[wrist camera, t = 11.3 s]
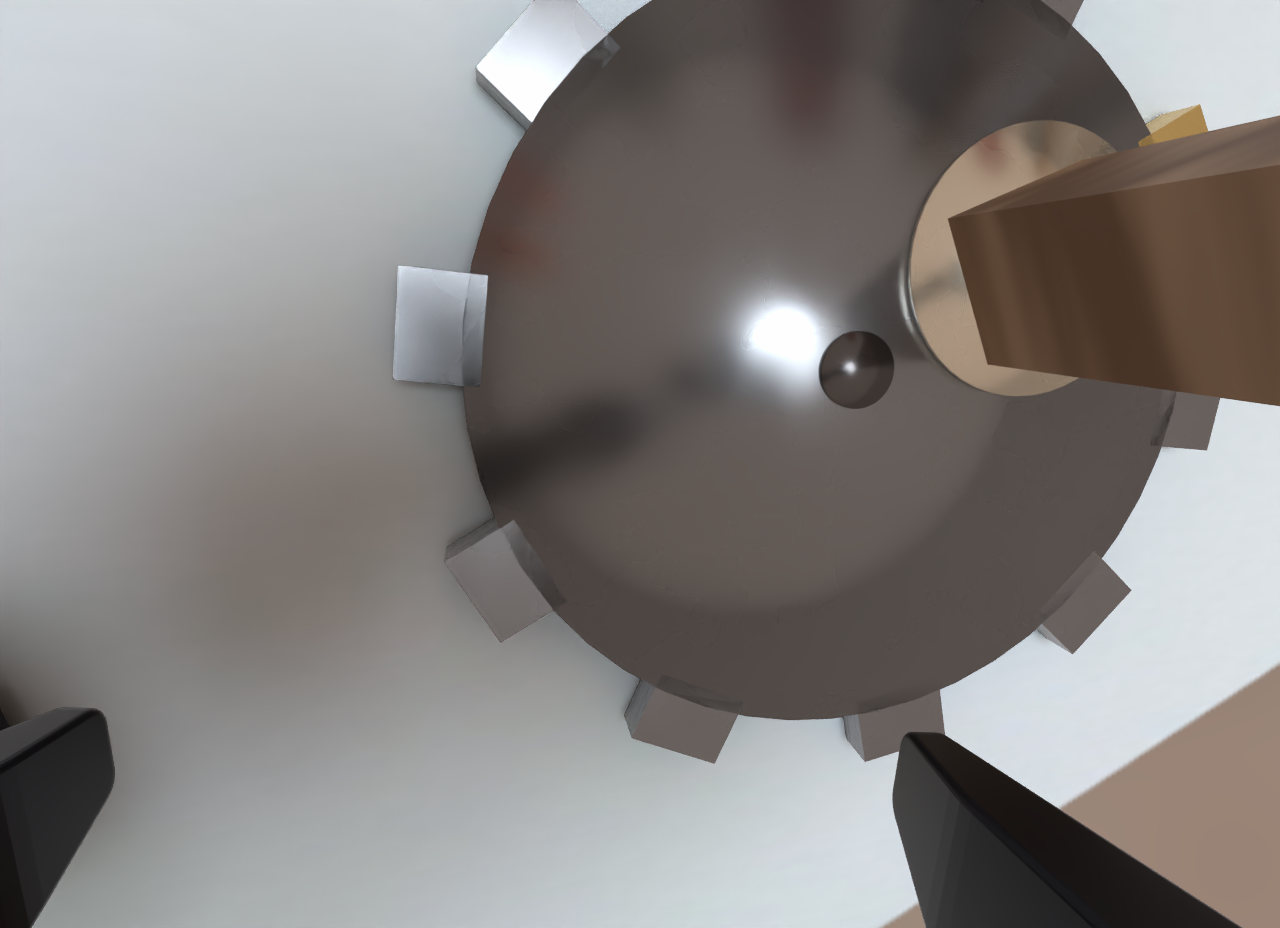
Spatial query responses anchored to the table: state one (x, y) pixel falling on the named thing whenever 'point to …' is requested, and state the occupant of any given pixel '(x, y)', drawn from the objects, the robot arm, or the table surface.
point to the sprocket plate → (782, 357)
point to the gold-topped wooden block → (1138, 267)
